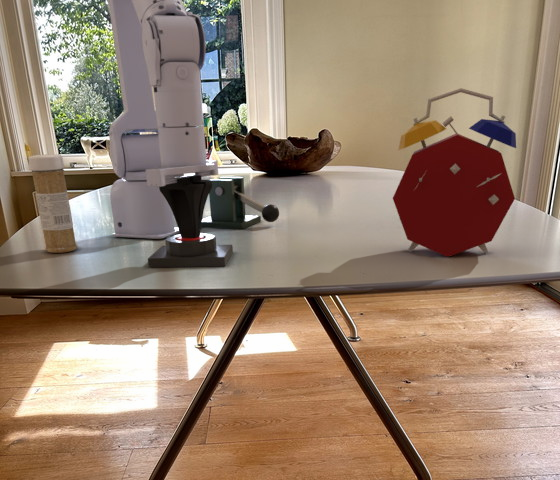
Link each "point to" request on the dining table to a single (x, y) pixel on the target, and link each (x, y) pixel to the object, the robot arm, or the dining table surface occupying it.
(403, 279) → the dining table surface
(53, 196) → the sprinkles bottle
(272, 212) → the lever
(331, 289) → the dining table surface
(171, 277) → the dining table surface
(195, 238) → the button
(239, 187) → the bracket
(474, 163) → the alarm clock
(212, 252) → the button box
